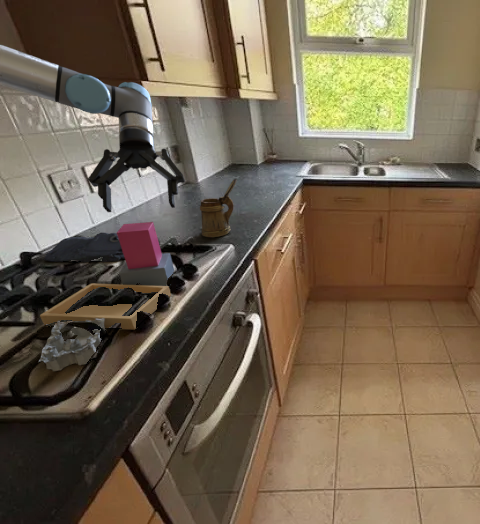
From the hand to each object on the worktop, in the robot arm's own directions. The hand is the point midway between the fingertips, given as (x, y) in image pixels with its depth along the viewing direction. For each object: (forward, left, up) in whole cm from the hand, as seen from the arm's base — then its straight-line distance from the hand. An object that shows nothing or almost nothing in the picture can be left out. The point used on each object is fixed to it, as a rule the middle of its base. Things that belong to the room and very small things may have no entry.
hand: (140, 207), depth 81 cm
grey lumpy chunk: (+6, -33, -17) cm, 37 cm away
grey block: (+3, -7, -16) cm, 18 cm away
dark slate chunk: (-22, +9, -17) cm, 29 cm away
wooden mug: (+6, +28, -17) cm, 33 cm away
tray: (+3, -20, -16) cm, 26 cm away
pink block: (+3, -7, -11) cm, 14 cm away
